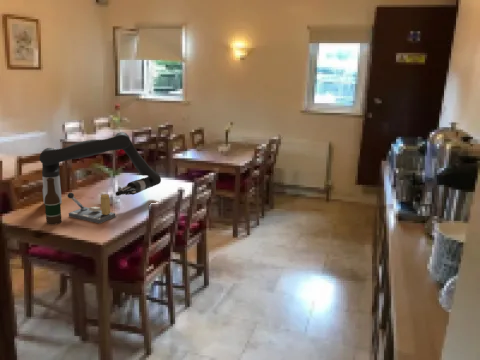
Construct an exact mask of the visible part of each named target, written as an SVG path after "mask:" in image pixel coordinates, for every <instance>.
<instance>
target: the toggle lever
mask: <svg viewBox="0 0 480 360" xmlns="http://www.w3.org/2000/svg"><path fill="white" fill-rule="evenodd" d="M67 198H68V199H71V200H72V201H73V202H74V203H75V204H76V205H77V206H78V207H79V209H83V208H84V207H85V206H83V204H81V201H79V200H78V199H77V198H76V197H75V194H74V193H73V192H68V193H67Z"/></svg>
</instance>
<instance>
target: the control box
mask: <svg viewBox="0 0 480 360" xmlns="http://www.w3.org/2000/svg"><path fill="white" fill-rule="evenodd" d="M83 207H84V208H83V209H81V208H78V209H76V210H73V211H70V212H69V213H68V217H70V218H73V219H78V220H84V221H88V222H92V223H96V224H102V223H104V222H106V221H109V220H112V219H113V218H114V219H115V218H116V213H115V212H111V211H110V214H108V215H104V214H102V211H101V210H100V211H96V212H94V211H89V208H90V207H87V206H83Z"/></svg>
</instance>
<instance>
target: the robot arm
mask: <svg viewBox="0 0 480 360" xmlns="http://www.w3.org/2000/svg"><path fill="white" fill-rule="evenodd" d="M119 150H123V152H124V153H125V154H126V155H127V157H128V158H129V159H130V160H131V163H132V164H133V166H134V167H135V169H136V170H137V171H138V173H139V174H140V175H141V176H146V177H143V178H140V179H136V180H133V181H130V182H128V183H127V184H126V185H124V186H123V187H121V186H118V187H117V191H115V196H116V197H117V196H118V197H119V196H123V195H126V196H128V195H133V196H134V195H135V194H136V195H137V194H139V193H141V192H143V191H145V190H147V189H151V188H153V187H155V186H158V185H159V184H161V182H162V178H161V176H160V174H158V172H157V171H155V170H154V169H152V168H151V167H150V166H149V164H148V163H147V162H146V160H145V159H144V157H142V155H141V154H140V153H139V152H138V150H137V149H136V148H135V146H134V144H133V143H132V140H131V138H130V136H129V134H128V133H126V132H123V131H121V132H117V133H116V134H115V136H112V137H108V138H105V139H104V138H103V139H88V140H82V141H79V142H76V143H73V144H71V145H68V146H66V147H62V148H57V149H55V148H54V147H53V148H52V147H47V148H45V149H43V150H42V151H41V152H40V155H39V161H40V163H41V164H42V165H41V166H42V169H41V170H42V171H41V174H42V199H43V204H44V205H45V196H46V194H47V191H48V190H47V178H54V186H55V192H56V193H57V195H58V196H59V199H60V205H61V204H62V202H63V200H62V189H61V177H60V163H62V162H65V161H70V160H76V159H81V158H82V159H83V158H87V157H92V156H94V155H95V156H96V155H100V154H104V153H106V152H110V151H111V152H112V151H119Z"/></svg>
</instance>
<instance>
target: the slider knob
mask: <svg viewBox="0 0 480 360" xmlns="http://www.w3.org/2000/svg"><path fill="white" fill-rule="evenodd" d="M110 201H111V198H110V194H108V193H104V194H103V193H102V194H101V195H100V206H101V207H100V208H101V211H102V214H104V215H108V214H110V212H111V202H110Z"/></svg>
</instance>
